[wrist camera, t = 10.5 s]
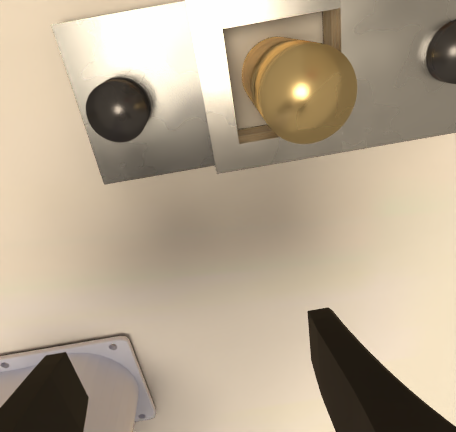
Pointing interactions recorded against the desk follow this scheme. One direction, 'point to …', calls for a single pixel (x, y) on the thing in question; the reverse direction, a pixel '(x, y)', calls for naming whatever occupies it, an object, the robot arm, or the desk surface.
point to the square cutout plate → (221, 88)
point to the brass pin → (300, 87)
